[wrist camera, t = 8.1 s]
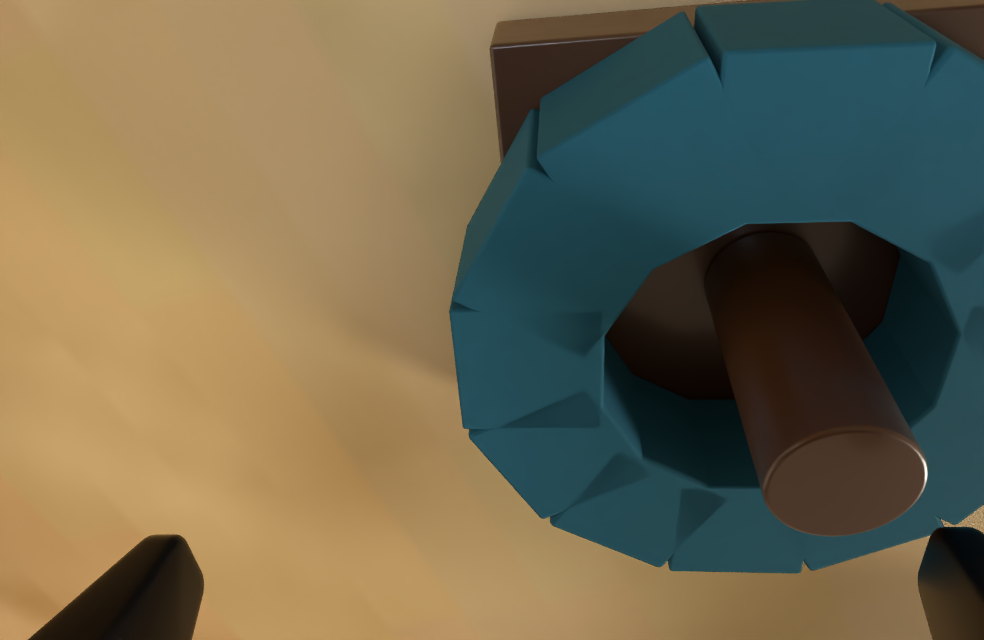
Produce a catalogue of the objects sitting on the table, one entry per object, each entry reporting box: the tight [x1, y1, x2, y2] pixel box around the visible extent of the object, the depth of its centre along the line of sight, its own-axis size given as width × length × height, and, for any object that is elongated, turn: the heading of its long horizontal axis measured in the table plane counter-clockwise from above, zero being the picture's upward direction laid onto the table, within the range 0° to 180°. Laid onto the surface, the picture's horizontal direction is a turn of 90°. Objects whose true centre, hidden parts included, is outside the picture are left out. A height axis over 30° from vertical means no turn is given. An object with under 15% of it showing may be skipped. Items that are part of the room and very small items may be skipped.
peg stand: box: [490, 0, 984, 536], centre depth 12 cm, size 9×9×6 cm
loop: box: [449, 0, 984, 573], centre depth 13 cm, size 10×10×2 cm
